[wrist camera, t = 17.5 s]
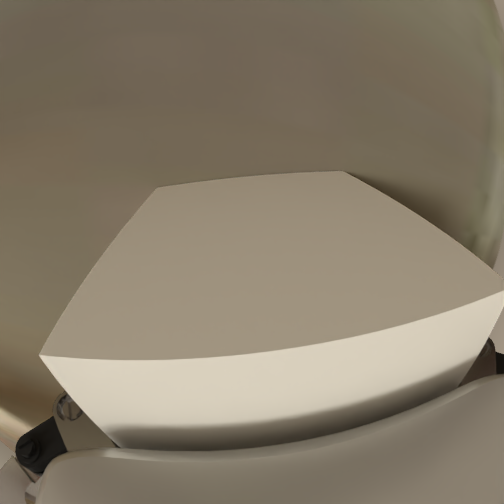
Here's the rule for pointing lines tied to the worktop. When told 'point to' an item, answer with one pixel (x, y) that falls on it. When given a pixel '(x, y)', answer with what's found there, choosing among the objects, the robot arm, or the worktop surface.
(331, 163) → the worktop surface
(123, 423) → the white sugar cube
